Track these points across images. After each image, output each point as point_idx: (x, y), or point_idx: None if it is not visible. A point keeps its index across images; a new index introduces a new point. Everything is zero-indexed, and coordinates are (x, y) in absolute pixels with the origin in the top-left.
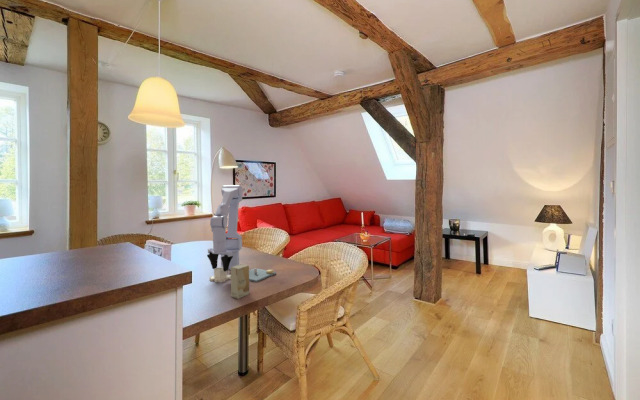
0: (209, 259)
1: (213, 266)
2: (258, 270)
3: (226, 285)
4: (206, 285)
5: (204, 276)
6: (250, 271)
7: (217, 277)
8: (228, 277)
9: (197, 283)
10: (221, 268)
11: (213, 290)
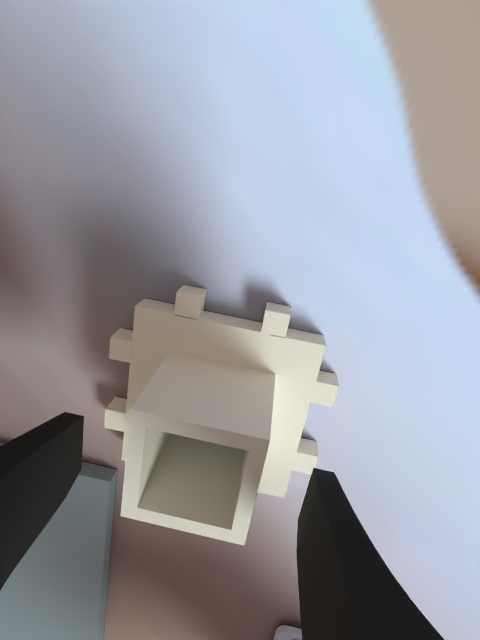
0: (424, 624)
1: (315, 500)
2: (17, 632)
3: (6, 237)
4: (222, 151)
5: (469, 418)
6: (59, 602)
7: (214, 364)
8: (113, 412)
9: (395, 172)
10: (215, 513)
11: (5, 23)
